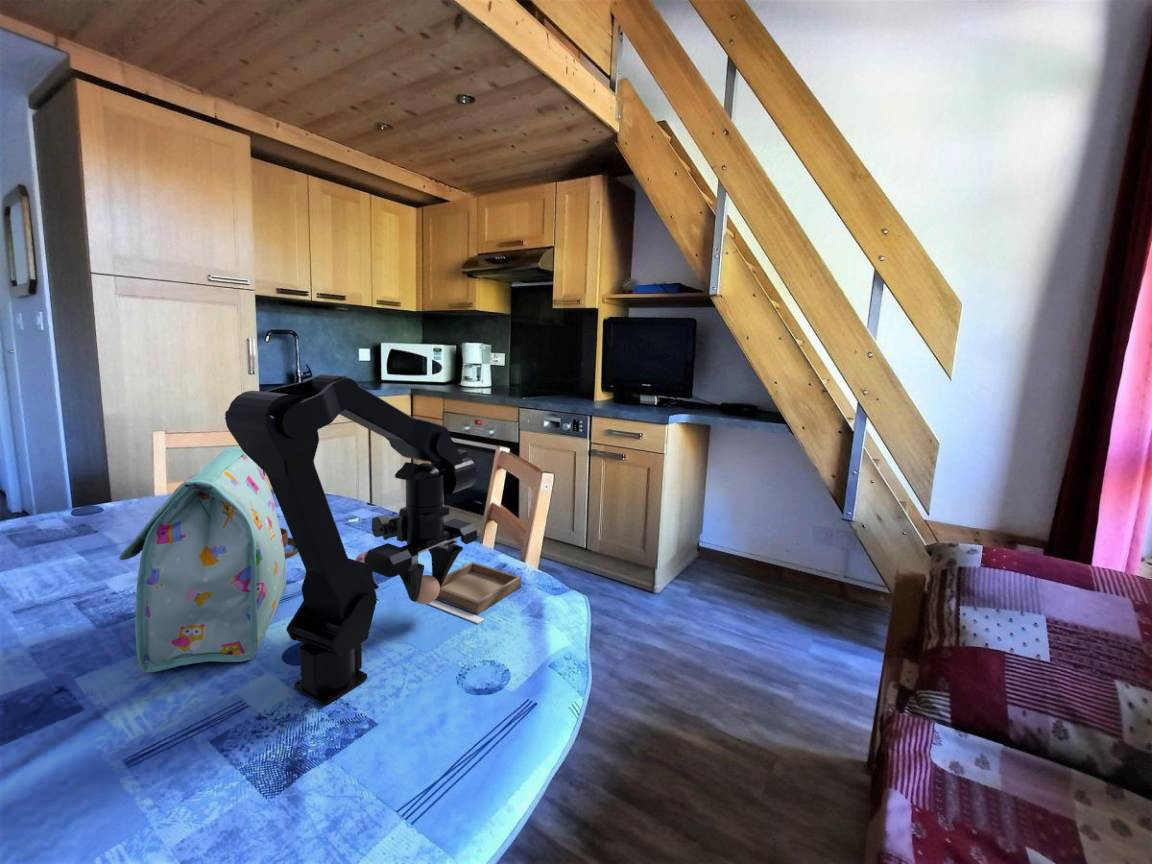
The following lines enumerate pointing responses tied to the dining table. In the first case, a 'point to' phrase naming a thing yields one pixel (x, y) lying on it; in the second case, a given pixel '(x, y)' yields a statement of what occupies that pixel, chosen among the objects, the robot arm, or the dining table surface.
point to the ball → (428, 589)
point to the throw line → (456, 611)
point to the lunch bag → (209, 568)
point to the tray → (477, 587)
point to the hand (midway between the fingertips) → (425, 595)
